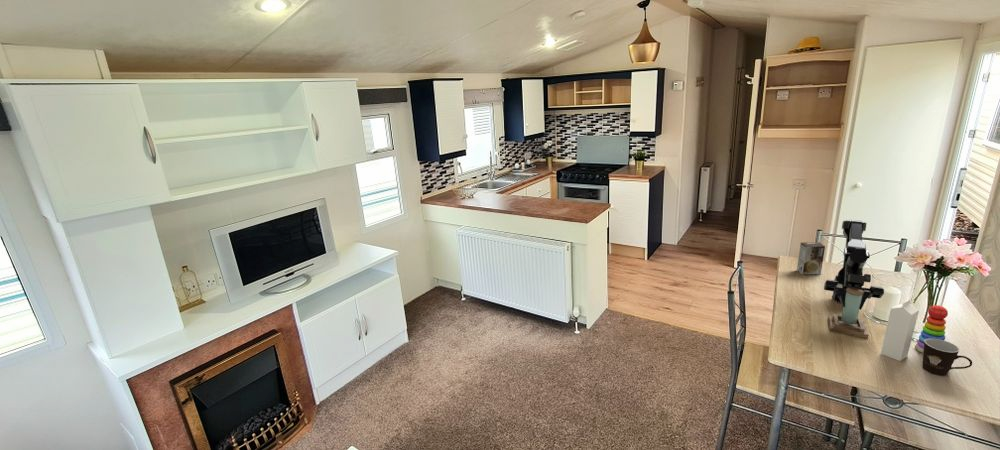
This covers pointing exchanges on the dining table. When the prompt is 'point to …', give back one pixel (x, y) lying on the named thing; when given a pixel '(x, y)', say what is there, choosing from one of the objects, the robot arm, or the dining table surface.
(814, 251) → the coffee box
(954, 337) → the dining table surface
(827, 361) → the dining table surface
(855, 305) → the cup
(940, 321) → the stacking toy
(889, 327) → the milk
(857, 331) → the brown wooden square tray
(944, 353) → the coffee mug
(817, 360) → the dining table surface
